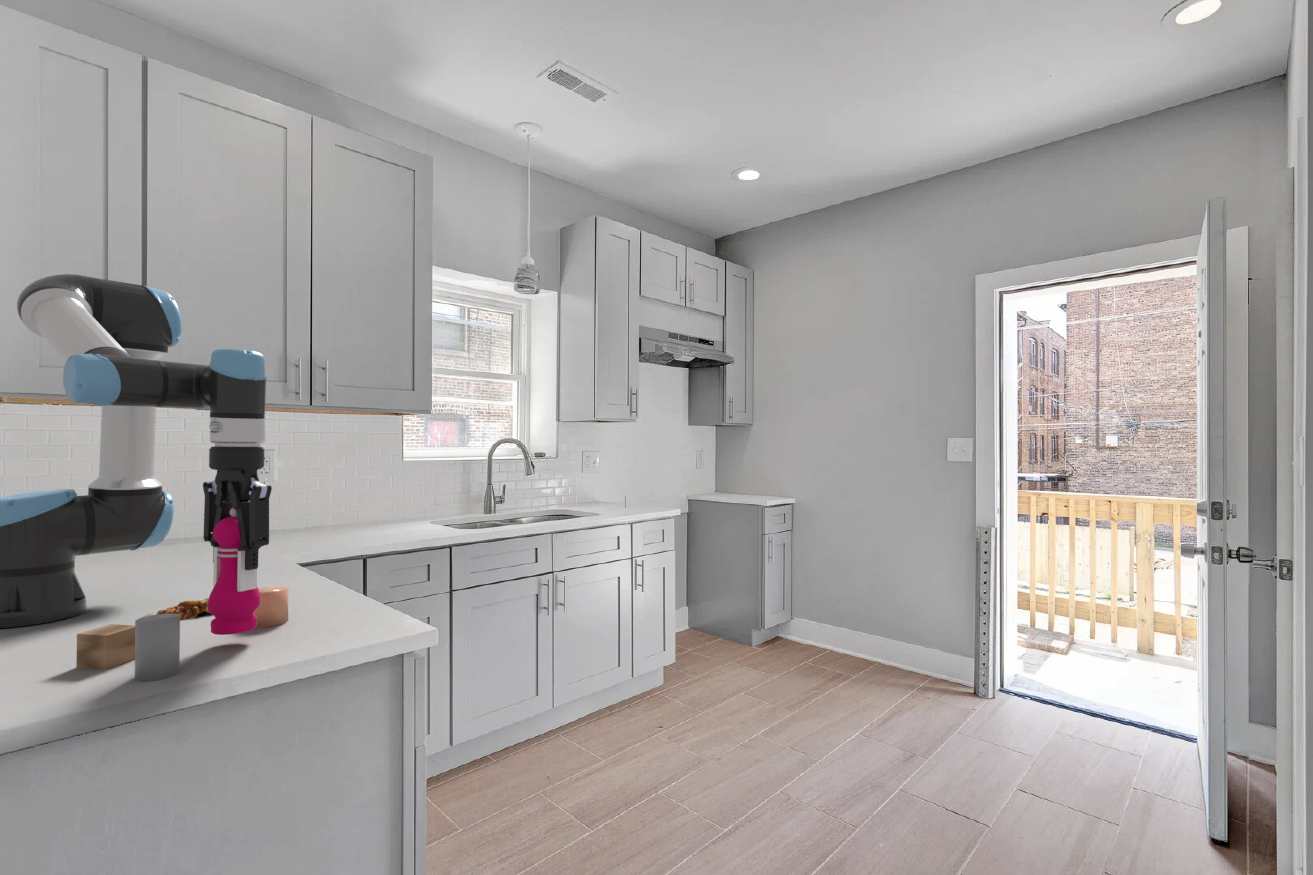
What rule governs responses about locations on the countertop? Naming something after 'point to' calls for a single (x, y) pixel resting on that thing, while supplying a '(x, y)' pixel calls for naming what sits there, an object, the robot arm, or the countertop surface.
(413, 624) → the countertop surface
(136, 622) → the grey cylinder
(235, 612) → the pepper mill
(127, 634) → the tan block
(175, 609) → the brown lumpy mound
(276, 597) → the peach rounded cylinder
